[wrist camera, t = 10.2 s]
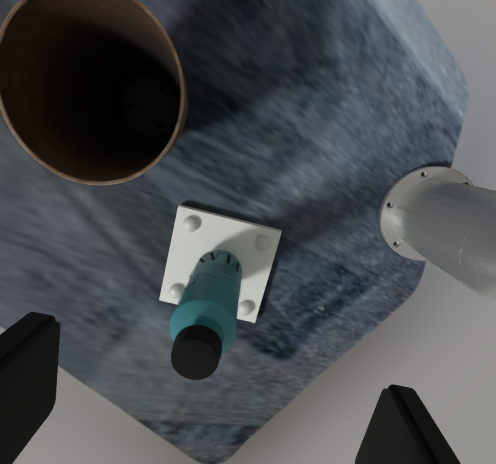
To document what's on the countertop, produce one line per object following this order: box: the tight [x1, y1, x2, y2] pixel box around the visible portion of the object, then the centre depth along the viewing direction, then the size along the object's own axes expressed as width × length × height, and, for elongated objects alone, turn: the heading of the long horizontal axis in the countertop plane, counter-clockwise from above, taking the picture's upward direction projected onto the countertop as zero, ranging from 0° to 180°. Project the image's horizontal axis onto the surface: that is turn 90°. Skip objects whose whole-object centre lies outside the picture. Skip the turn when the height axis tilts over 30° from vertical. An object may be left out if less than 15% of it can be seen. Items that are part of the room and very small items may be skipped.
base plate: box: [159, 204, 282, 323], centre depth 46 cm, size 14×14×2 cm
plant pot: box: [0, 0, 188, 185], centre depth 33 cm, size 15×15×16 cm
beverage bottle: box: [170, 250, 243, 380], centre depth 36 cm, size 6×7×20 cm
